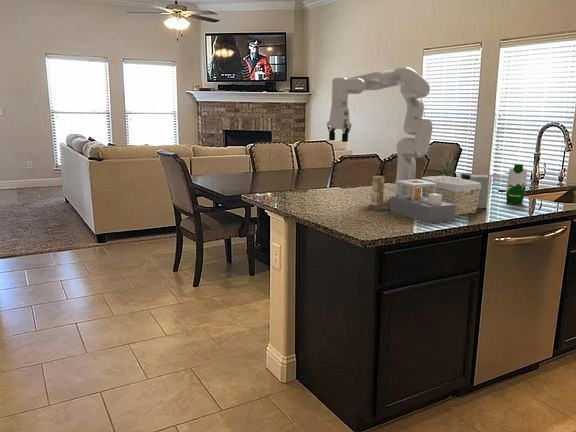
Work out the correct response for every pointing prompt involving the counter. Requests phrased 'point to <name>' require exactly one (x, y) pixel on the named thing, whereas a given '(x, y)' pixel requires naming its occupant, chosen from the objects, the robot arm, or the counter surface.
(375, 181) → the wooden rectangular block
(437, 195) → the on button
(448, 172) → the potted plant
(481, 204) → the skincare box
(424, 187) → the storage basket
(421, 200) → the grey housing
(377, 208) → the pad
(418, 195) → the plunger
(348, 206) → the counter surface
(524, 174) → the milk carton
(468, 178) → the supplement container
